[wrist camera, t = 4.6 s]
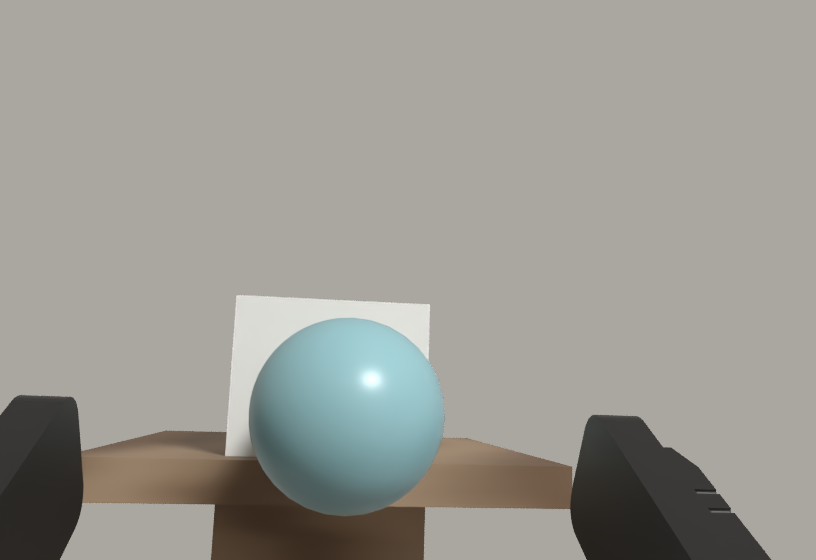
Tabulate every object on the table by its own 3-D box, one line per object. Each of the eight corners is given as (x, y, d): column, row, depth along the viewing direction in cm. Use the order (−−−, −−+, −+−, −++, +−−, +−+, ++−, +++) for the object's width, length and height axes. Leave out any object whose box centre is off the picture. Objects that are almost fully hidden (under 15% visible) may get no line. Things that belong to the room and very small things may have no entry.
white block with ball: (117, 532, 8) (151, 178, 8) (260, 430, 30) (266, 336, 31) (561, 535, 8) (560, 206, 9) (378, 433, 31) (381, 341, 32)
